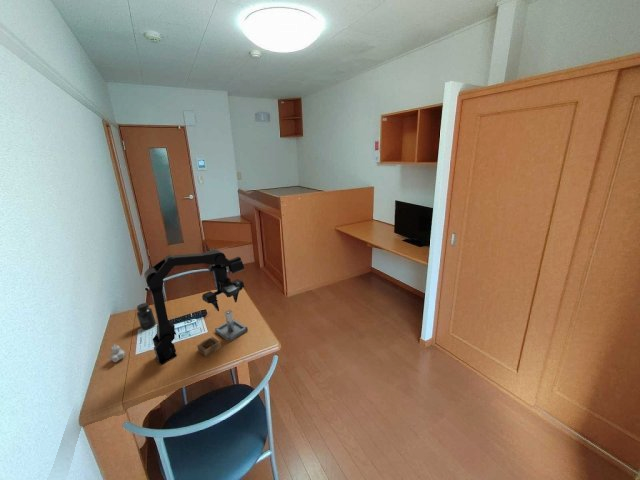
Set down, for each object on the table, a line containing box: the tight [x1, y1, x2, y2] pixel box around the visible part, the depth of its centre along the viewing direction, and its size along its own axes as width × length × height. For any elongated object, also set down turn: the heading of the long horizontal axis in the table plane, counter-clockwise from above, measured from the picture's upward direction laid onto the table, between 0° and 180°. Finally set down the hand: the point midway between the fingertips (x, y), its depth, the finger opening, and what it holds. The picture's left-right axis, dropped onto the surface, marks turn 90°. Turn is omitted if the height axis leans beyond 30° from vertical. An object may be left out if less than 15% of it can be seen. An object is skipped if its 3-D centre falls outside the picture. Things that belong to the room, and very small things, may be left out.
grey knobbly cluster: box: [108, 343, 126, 363], centre depth 118 cm, size 5×7×8 cm
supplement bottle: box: [136, 302, 157, 330], centre depth 140 cm, size 7×7×12 cm
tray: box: [214, 318, 248, 343], centre depth 133 cm, size 10×12×2 cm
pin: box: [224, 310, 235, 332], centre depth 131 cm, size 3×3×10 cm
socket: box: [196, 336, 222, 358], centre depth 121 cm, size 7×7×3 cm
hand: (227, 306), depth 131 cm, fingers open, 9 cm apart
